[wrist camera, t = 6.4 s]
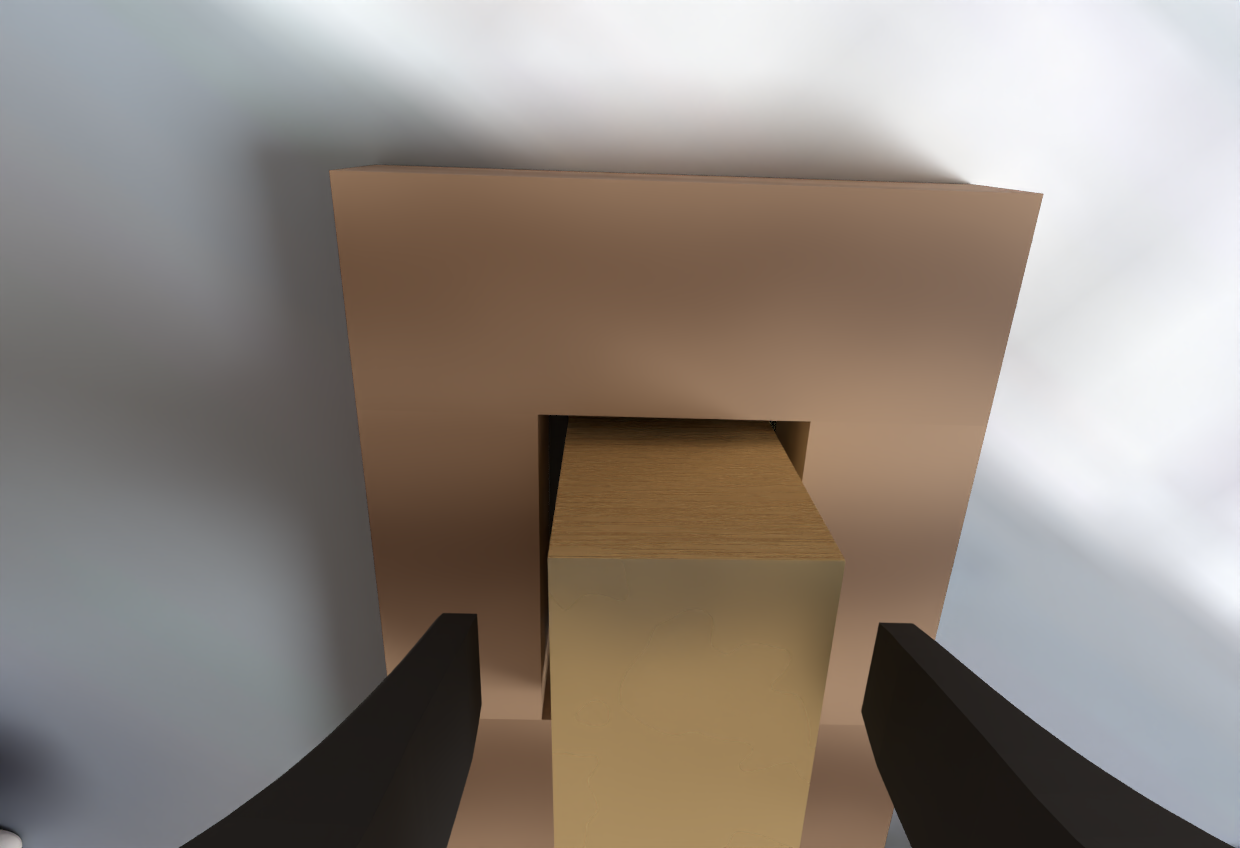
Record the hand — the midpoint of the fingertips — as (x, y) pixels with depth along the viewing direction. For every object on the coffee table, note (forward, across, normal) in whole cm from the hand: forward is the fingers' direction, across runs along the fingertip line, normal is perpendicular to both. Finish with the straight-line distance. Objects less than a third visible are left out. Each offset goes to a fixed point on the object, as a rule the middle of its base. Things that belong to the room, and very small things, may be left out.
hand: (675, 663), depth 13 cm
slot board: (+5, 0, 0) cm, 5 cm away
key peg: (+5, 0, 0) cm, 5 cm away
